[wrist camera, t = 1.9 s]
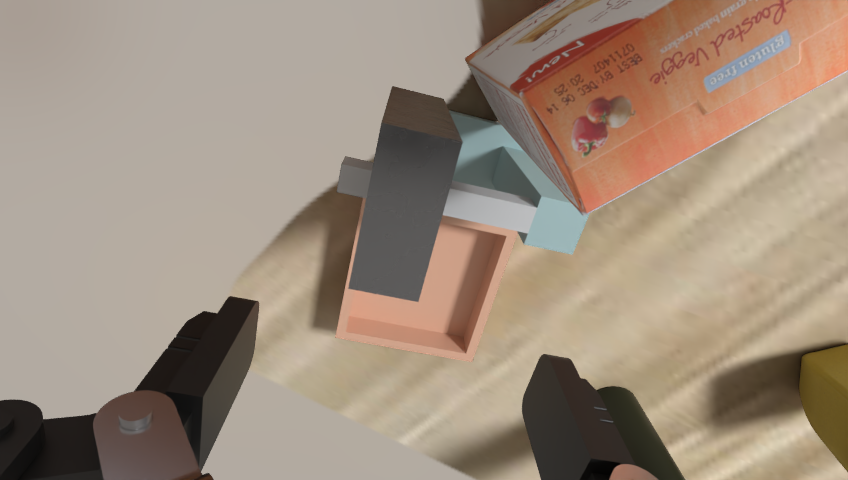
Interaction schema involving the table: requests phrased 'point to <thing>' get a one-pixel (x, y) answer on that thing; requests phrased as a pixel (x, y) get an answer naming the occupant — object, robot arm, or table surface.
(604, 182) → the cracker box
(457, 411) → the table surface
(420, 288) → the grey arch block
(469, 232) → the tray
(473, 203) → the peg stand
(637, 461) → the wine bottle
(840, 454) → the flower pot
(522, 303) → the table surface
